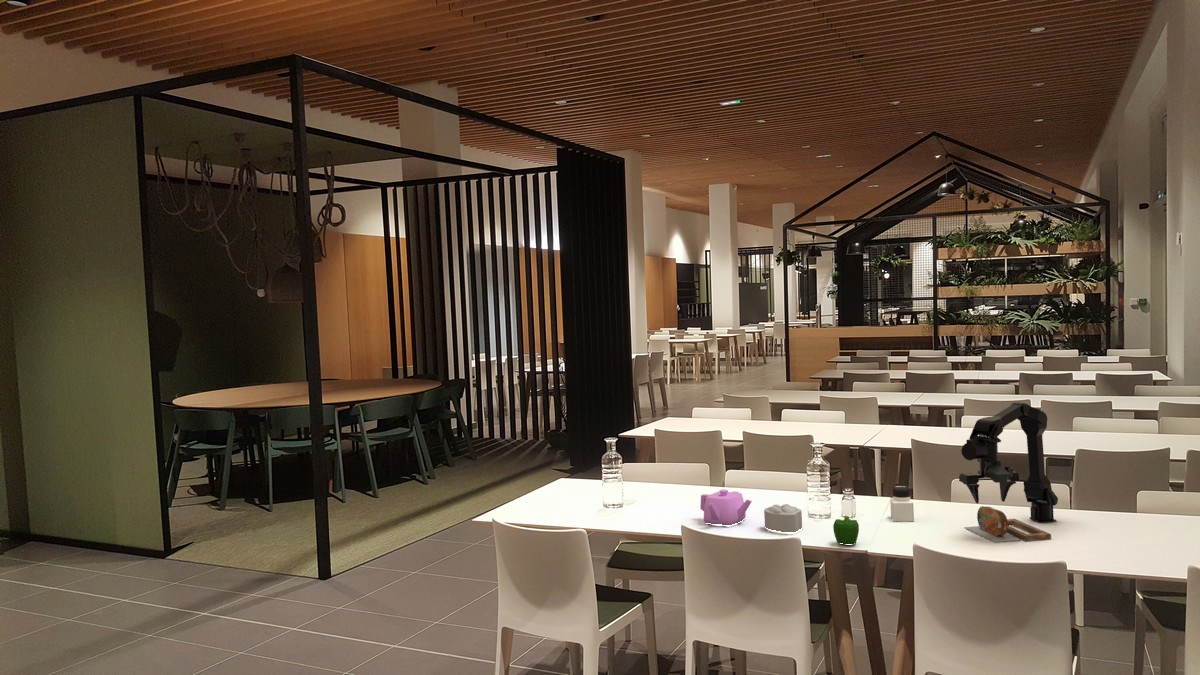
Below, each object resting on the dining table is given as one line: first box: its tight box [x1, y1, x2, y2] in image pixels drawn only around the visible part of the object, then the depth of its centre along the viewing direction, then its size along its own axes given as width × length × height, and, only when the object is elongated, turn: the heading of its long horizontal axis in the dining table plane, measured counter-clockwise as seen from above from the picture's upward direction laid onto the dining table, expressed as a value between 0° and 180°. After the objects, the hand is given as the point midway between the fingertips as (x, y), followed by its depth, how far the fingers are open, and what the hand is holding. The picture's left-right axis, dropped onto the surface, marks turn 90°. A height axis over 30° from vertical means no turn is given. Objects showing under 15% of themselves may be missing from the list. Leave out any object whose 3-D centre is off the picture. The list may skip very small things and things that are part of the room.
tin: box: [976, 505, 1008, 536], centre depth 287 cm, size 15×3×8 cm, turn 5°
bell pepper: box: [832, 515, 860, 545], centre depth 284 cm, size 8×8×10 cm
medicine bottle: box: [889, 485, 915, 522], centre depth 312 cm, size 7×7×12 cm
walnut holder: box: [1006, 518, 1052, 542], centre depth 288 cm, size 9×21×2 cm, turn 5°
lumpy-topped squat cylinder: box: [763, 503, 803, 532], centre depth 306 cm, size 10×13×9 cm
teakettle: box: [699, 488, 752, 525], centre depth 321 cm, size 17×17×12 cm
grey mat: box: [963, 525, 1022, 544], centre depth 287 cm, size 9×19×1 cm, turn 5°
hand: (990, 502), depth 286 cm, fingers open, 9 cm apart
